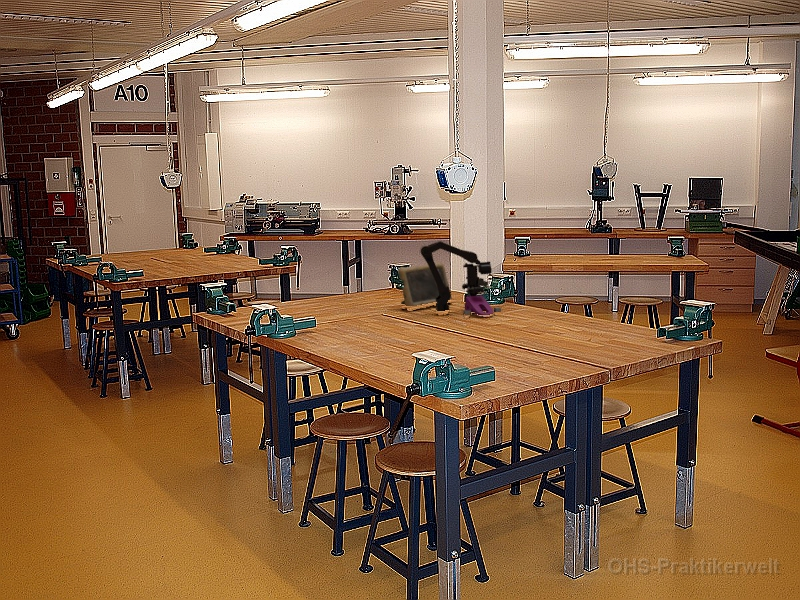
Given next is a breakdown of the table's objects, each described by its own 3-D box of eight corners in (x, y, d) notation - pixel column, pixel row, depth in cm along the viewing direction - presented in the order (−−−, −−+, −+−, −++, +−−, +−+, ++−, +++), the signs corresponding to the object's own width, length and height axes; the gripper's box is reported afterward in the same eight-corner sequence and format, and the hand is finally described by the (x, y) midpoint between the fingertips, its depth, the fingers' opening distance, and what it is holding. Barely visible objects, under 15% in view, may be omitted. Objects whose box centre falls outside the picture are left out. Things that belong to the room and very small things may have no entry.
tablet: (414, 312, 458) (412, 268, 455) (397, 310, 468) (395, 267, 465) (454, 304, 480) (452, 261, 476) (437, 302, 490) (435, 260, 487)
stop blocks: (465, 318, 430) (465, 311, 430) (463, 317, 433) (463, 310, 433) (501, 315, 435) (500, 307, 434) (499, 314, 438) (498, 306, 437)
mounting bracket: (493, 326, 434) (479, 308, 448) (496, 313, 430) (481, 295, 444) (477, 328, 431) (463, 309, 445) (480, 315, 427) (466, 296, 441)
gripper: (492, 275, 437) (493, 304, 440) (480, 272, 455) (481, 299, 458) (472, 277, 435) (473, 306, 437) (461, 273, 452) (462, 301, 455)
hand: (473, 303), depth 447 cm, fingers closed
